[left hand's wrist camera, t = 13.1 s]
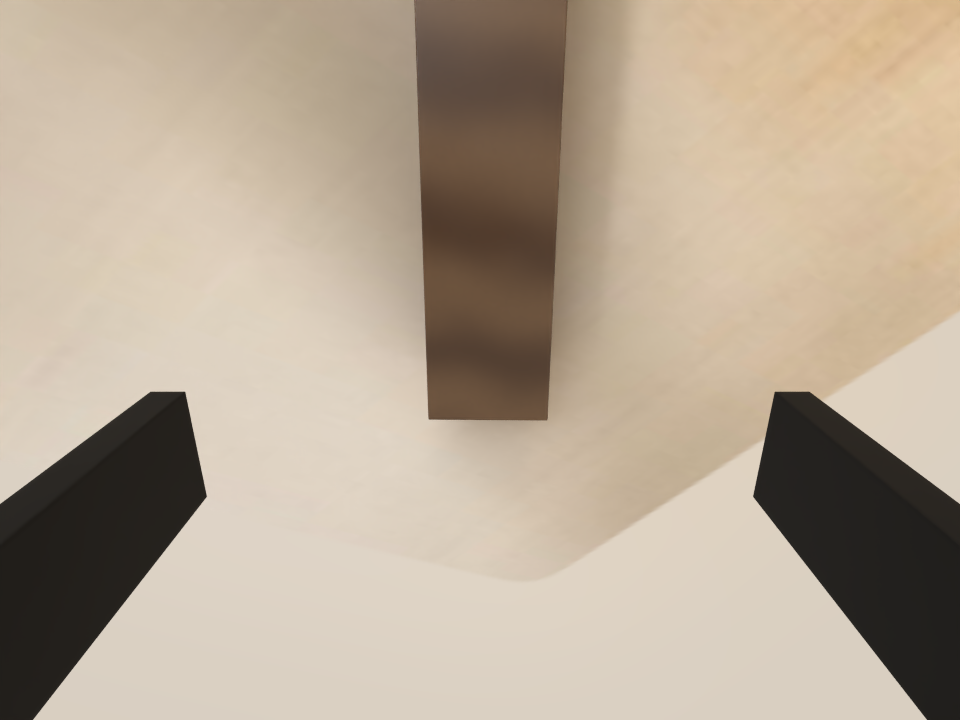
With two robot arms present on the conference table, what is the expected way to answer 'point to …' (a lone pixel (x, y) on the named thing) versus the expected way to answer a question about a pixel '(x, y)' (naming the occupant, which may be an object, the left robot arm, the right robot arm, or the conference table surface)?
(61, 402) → the conference table surface
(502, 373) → the bar
